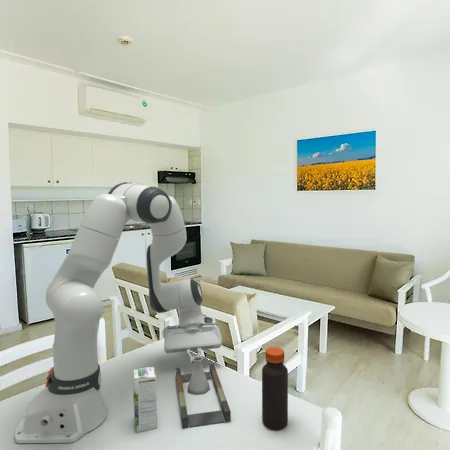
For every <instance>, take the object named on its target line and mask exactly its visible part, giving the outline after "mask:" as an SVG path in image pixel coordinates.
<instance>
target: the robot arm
mask: <svg viewBox="0 0 450 450" xmlns="http://www.w3.org/2000/svg"><path fill="white" fill-rule="evenodd" d="M130 220H131V221H135V222H140V223H146V224H149V228H150V231H151V236H152V240H151V244H149V245H148V246H147V248H146V270H147V280H148V281H147V283H148V303H149V307H150V309H151V310H153V311H154V312H156V313H158V314H162V313H166V312H169V311H172V310H173V311H174V310H178V325H171V326H170V325H167V326H166V327H164V328H163V330H162V338H163V339H164V344H163V346H164V347H163V348H164V349H163V350H164V352H165V353H166V354H174V353H184V352H186V355H187V357H188V359H189V361H190V364H192V365H194V362H193V358H194V357H195V356H193V355H192V354H191V353H192V352H194V351H196V352H197V356H200V357H201V354H202V351H204V350H205V351H206V350H213V349H220V348H221V347H222V345H223V338H222V334H221V330H220V328H219V326H218V325H217V320H216V318H215V317H211V316H206V315H203V312H202V303H203V291H202V287H201V284H200V283H199V282H198V281H196V280H195V279H193V278H187V279H181V280H180V279H179V280H176V281H172V282H171V281H170V282H165V283H164V282H161V271H160V270H161V269H160V265H162V263H164V261H167V260H168V259H169V258H171V257H173V256H175V255H176V254H178V253H179V252H180V251H181V250H182V249H183V248H184V247H185V245H186V242H187V239H188V237H187V228H186V224H185V220H184V216H183V214H182V211H181V209H180V206H179V204H178V202H177V200H176V198H174V197H173V196H171V195H168V193H166V191H164V190H163V189H161V188H159V187H156V186H150V185H147V184H143V183H139V182H135V183H134V182H121V183H118V184H115V185H114V186H113V187H112V188H110V190H109V191H108V193H102V194H98V195H97V196H95V198H94V199H93V200H92V202H91V203H90V205H89V207H88V208H87V210H86V211H85V214H84V215H83V218H82V220H81V222H80V224H79V226H78V229H77V232H76V234H75V236H74V239H73V241H72V243H71V246H70V247H69V248H70V249H69V251H68V253H67V254H66V256H65V258H64V260H63V262H62V263H61V265H60V267H59V269H58V270H57V272H55V273H56V274H55V275H54V277H53V278H52V281H50V283H49V284H48V286H47V288H46V291H45V303H46V305H47V307H48V308H49V310H50V311H51V312H52V315H53V318H54V335H53V336H54V337H53V344H52V359H53V360H52V361H53V367H51V368H50V370H49V371H48V375H47V377H46V380H45V388H44V389H42V390H40V392H39V393H37V394H36V395H35V396H34V397H33V398H32V399H31V401H30V402H29V403H28V406H27V408H26V411H25V414H24V415H23V417H22V418H21V419H20V421H19V422H18V424H17V426H16V428H15V431H14V441H15V443H16V444H57V443H59V444H61V443H65V444H66V443H68V444H70V443H75V442H77V441H78V440H79V439H80V438H82V437H83V436H84V435H86V434H88V433H90V432H91V431H92V430H95V429H96V428H97V427H99V426H100V425H101V424H103V422H104V421H105V420H106V418H107V413H108V410H107V408H106V406H105V403H104V400H103V395H102V390H101V386H102V373H101V372H102V371H101V366H100V364H99V357H98V356H99V355H98V353H99V352H98V334H99V327H100V326H99V325H100V320H101V318H102V315H103V313H104V305H103V301H102V299H101V296H100V294H99V293H98V292H97V290H95V285H96V284H97V282H98V280H99V279H100V278H101V276H102V275H103V273H104V272H105V270H107V269H108V268H109V267H110V265H111V264H112V263H111V262H112V260H113V258H114V254H115V253H116V249H117V247H118V245H119V242H120V239H121V237H122V234H123V230H124V227H125V226H126V224H127V223H128V222H129V221H130Z"/></svg>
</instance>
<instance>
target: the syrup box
mask: <svg viewBox="0 0 450 450" xmlns="http://www.w3.org/2000/svg"><path fill="white" fill-rule="evenodd" d="M132 373H133V415H134V416H133V419H134V421H133V422H134V423H133V424H134V432H135V433H139V432H144V431H150V430H154V429H157V428H158V414H157V413H158V412H157V411H158V410H157V409H158V408H157V406H158V405H157V376H156V370H155V367H151V366H150V367H149V366H148V367H142V368H141V367H140V368H137V369H133V372H132Z"/></svg>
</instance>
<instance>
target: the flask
mask: <svg viewBox="0 0 450 450" xmlns="http://www.w3.org/2000/svg"><path fill="white" fill-rule="evenodd" d="M193 357H194V358H193V362H194V363H193V370H192V372H191V374H192V375H191V378H190V381H189V382H188V384H187V392H188V393H190V394H193V395H202V394H203V395H204V394H206V393H207V392H208V391H209V390H211V389H210V383H209V381H208V380H207V378H206V376H205V373H204V372H205V371H204V367H203V360H204V357H203V356H201V355H200V356H193Z"/></svg>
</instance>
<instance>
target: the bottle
mask: <svg viewBox="0 0 450 450" xmlns="http://www.w3.org/2000/svg"><path fill="white" fill-rule="evenodd" d="M265 362H266V363H265V364H264V365H263V366H262V368H261V387H262V388H261V393H262V394H261V419H262V424H263V426H264V427H265V428H267V429H269V430H270V431H271V430H272V431H281V430H283V429H285V428H286V427H287V426H288V424H289V423H288V422H289V420H288V419H289V415H288V414H289V408H288V407H289V405H288V404H289V400H288V399H289V369H288V368H287V366H286V365H285V364H284V363H285V350H284V349H282V348H280V347H275V346H274V347H273V346H272V347H268V348H267V349H265Z"/></svg>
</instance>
